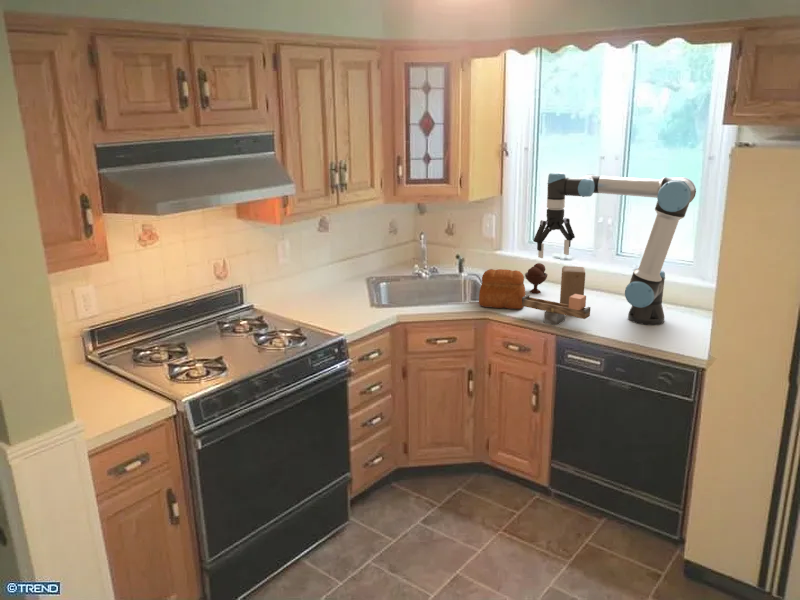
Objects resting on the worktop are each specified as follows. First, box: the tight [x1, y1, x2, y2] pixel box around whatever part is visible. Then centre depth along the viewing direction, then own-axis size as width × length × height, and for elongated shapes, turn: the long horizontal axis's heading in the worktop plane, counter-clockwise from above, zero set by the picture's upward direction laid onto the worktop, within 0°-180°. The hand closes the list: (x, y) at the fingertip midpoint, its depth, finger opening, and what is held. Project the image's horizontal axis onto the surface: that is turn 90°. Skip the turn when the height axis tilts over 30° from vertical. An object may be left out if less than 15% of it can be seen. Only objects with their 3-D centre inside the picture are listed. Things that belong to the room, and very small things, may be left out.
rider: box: [569, 294, 587, 310], centre depth 292 cm, size 5×6×6 cm
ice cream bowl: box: [524, 262, 548, 295], centre depth 342 cm, size 11×11×15 cm
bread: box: [478, 268, 526, 310], centre depth 323 cm, size 18×21×17 cm
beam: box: [522, 294, 591, 326], centre depth 299 cm, size 30×8×9 cm, turn 52°
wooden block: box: [559, 265, 586, 305], centre depth 313 cm, size 10×10×20 cm
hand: (553, 256), depth 304 cm, fingers open, 13 cm apart
